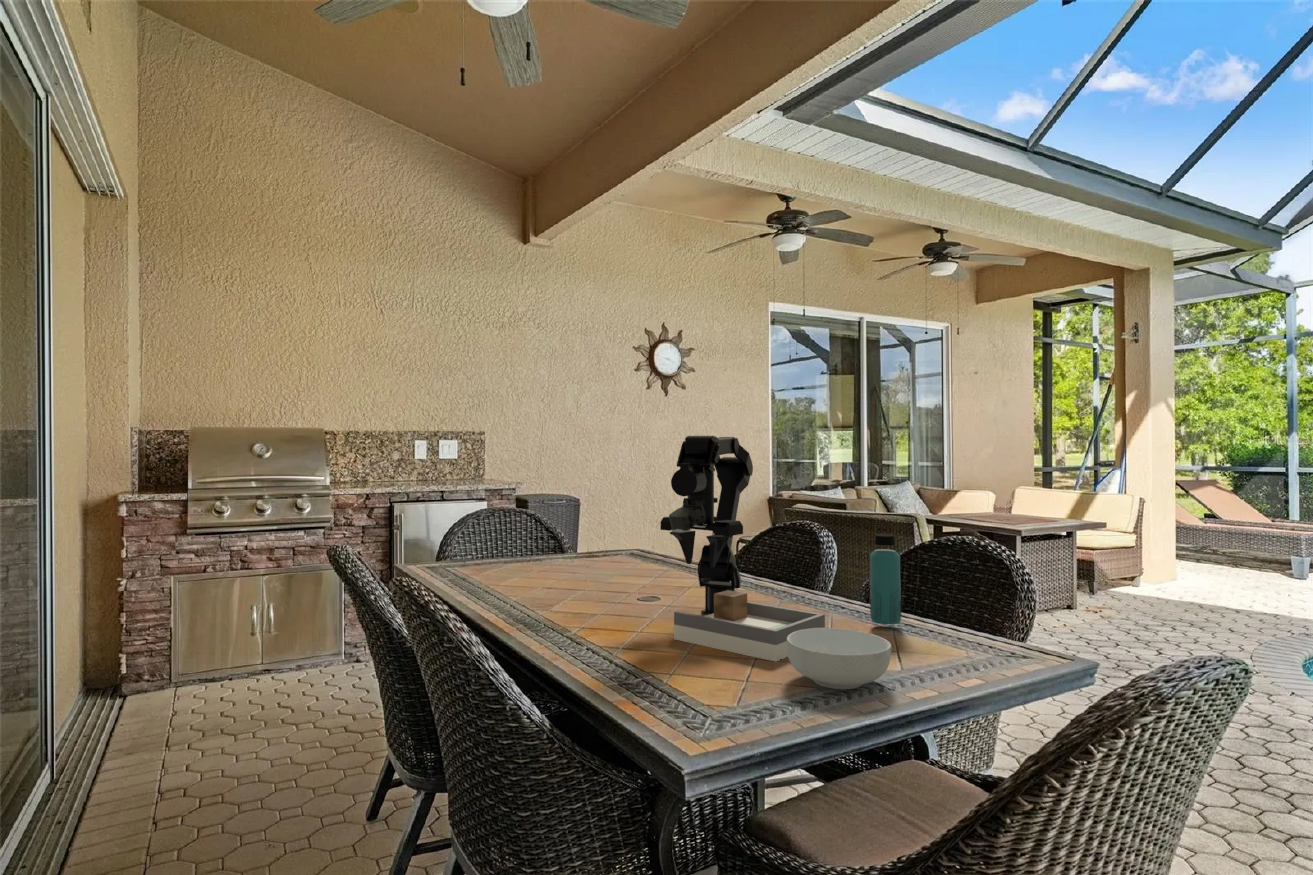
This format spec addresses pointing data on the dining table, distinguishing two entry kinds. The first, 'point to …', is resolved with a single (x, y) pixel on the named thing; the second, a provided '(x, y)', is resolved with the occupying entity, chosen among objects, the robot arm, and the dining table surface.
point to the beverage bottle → (885, 583)
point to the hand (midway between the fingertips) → (700, 565)
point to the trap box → (747, 630)
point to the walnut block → (730, 605)
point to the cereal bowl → (838, 656)
